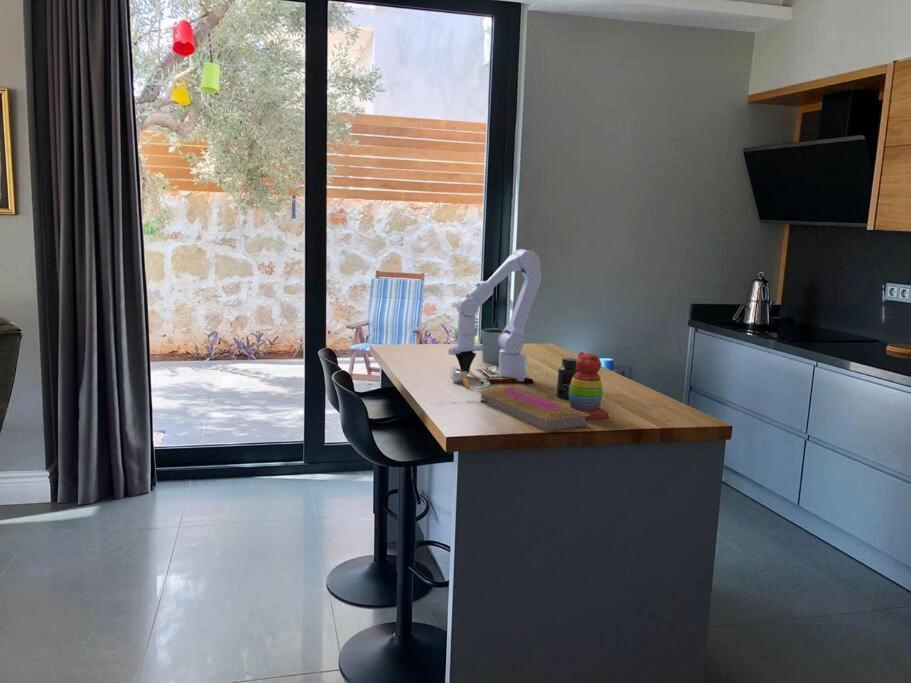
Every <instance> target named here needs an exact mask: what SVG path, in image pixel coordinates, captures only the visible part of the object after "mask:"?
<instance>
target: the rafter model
mask: <svg viewBox="0 0 911 683" xmlns="http://www.w3.org/2000/svg"><path fill="white" fill-rule="evenodd" d="M477 393H479V394H481V395H480V398H481V399H480V403H483V404H485V405H487V406H489V407H491V406H492V407H491V408H494V409H496V410H498V409H499V411H500V410H501V411H500V412H502V413H505V414H507V413H508V415H509V416H513V417H514V416H515V418H516V417H517V419H519V418H520V419H519V420H521V419H522V420H521V421H523V420H524V421H523V422H525V421H527V422H526V423H528V422H529V423H528V424H530V423H531V424H530V425H532V424H534V425H533V426H535V425H536V426H535V427H537V426H538V428H539V427H540V428H539V429H541V428H542V430H544V429H545V430H544V431H546V430H549V431H554V430H555V429H557V430H563V428H565V429H571V428H570V427H572V428H578V426H580V427H585V426H586V416H590V415H589V414H586V413H583V412H581V411H578V410H575V409H573V408H570V407H571V406H568V405H565V404H562V403H559V402H557V401H554V400H551V399H550V398H549V399H548V398H546V397H543V396H540V395H539V394H535V393H533V392H530V391H528V390H526V389H522V388H519V387H516V386H512V385H509V386H503V387H497V388H491V389H490V388H489V389H485V390H477ZM575 411H576V412H575ZM555 431H556V430H555Z"/></svg>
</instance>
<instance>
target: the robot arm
mask: <svg viewBox="0 0 911 683" xmlns="http://www.w3.org/2000/svg"><path fill="white" fill-rule="evenodd" d="M518 271H519V272H520V273H521V274H522V276H523V278H524V281H523V283H522V286H521V289H520V291H519V294H518V296H517V299H516V303H515V306H514V309H513V311H512V313H511V317H510V320H509V322H508V323H507V325H506V326H505V327H504V329H503V330H504V331H503V332H502V333H501V334H500V336H499V338H498V344H499V346H500V347H501V349H500V353H499V364H498V376H499V375H500V377H502V376H503V377H504V378H513V379H514V378H516V379H517V380H516V381H518V382H524V381H525V380H524V378H525V377H526V378H527V374H528V372H527V369H528V368H527V367H528V366H527V365H528V356H527V354H526V353H525V354H524V353H522V352H521V351H522V350H523V348H524V338H525V329H524V328H525V325H526V322H527V320H528V317H529V315H530V312H531V308H532V307H533V303H534V301H535V298H536V295H537V292H538V291H539V287H540V285H541V282H542V272H541V260H540V257H539V256H538V254H537V253H536V252H535V251H533V250H531V249H530V250H527V249H523V248H518V249H516V250H514V252H513V253H512V254H510V255H509V256H508V257H507V258H506V260H505V261H504V262H503V263H502V264H501V265H500V266H499V267H498V268H497V269H496V270H495V271H494V272H493V274H492V275H491V276H490V277H489V278H488V279H487V280H481V281H480V282H476V283H475V284H474V285H475V287H473V289H472V290H471V291H470V292H468V293H465V295H464V296H465V297H462V298H460V299H459V300H458V302H457V304H456V310H457V311H458V321H457V322H458V323H457V343H456V345H455V346H453V347H449V348H448V355H451V356H455V357H456V359H457V361H458V364H459V367H460V368H459V370H464V371H467V375H469V373H470V369H471V366H472V363H473V362H474V360H475V358H476V357H477V353H476V352H477V351H478V352H479V351H480V352H481V351H482V344H475V342H476V341H475V340H476V338H475V337H476V314H477V313H478V312H479V307H481V306H482V305H483V304H484V303H485V302H486V301H487V300H488V299H489V298H491V296H492V295H494V289H495V287H497V285H498V284H500V283H501V282H502V281H503V280H504V279H505V278H506V277H508V276H509V275H510V274H512V272H513V273H514V272H518ZM526 378H525V379H526Z"/></svg>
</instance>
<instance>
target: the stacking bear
mask: <svg viewBox="0 0 911 683" xmlns="http://www.w3.org/2000/svg"><path fill="white" fill-rule="evenodd" d="M576 359H577V361H576V367H577V370H578V372H576V373H575V374H574V377H573V378H572V380H571V384H570V387H569V399H568V400H569V407H570V408H573V409H575V410H578V411H581V412H583V413H586V414H589V415H590V416H586V419H587V420H596V419H597V420H599V419H607V418H609V412H608V411H607V410H605V409H604V408H601V407H600V406H601V403H602V398H603V394H604V392H603V384H602V380H601V375H599V373H598V372H599V371H600V369H602V368H601V367H602V362H601V360H600V358H599V357H598V356H597V355H596V354H594V353H590V352H589V353H588V352H586V353H584V352H583V351H580V352H579V353H578V357H577V358H576ZM575 412H576V411H575ZM586 419H585V420H586Z"/></svg>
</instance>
